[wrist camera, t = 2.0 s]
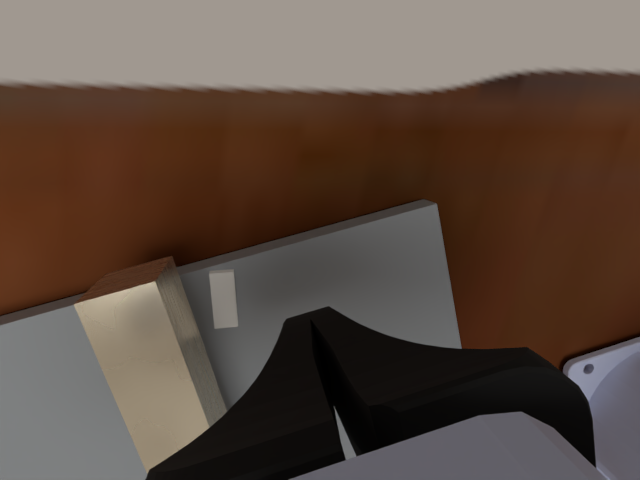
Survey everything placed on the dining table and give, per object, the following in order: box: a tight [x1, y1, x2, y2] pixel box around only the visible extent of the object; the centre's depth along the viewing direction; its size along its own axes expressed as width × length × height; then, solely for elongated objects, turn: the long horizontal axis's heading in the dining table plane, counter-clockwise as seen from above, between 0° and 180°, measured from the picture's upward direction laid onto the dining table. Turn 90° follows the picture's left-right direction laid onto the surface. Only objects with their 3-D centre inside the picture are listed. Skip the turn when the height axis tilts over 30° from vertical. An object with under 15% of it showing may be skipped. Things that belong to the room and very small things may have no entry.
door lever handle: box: [74, 256, 227, 474], centre depth 14 cm, size 14×6×4 cm, turn 14°
